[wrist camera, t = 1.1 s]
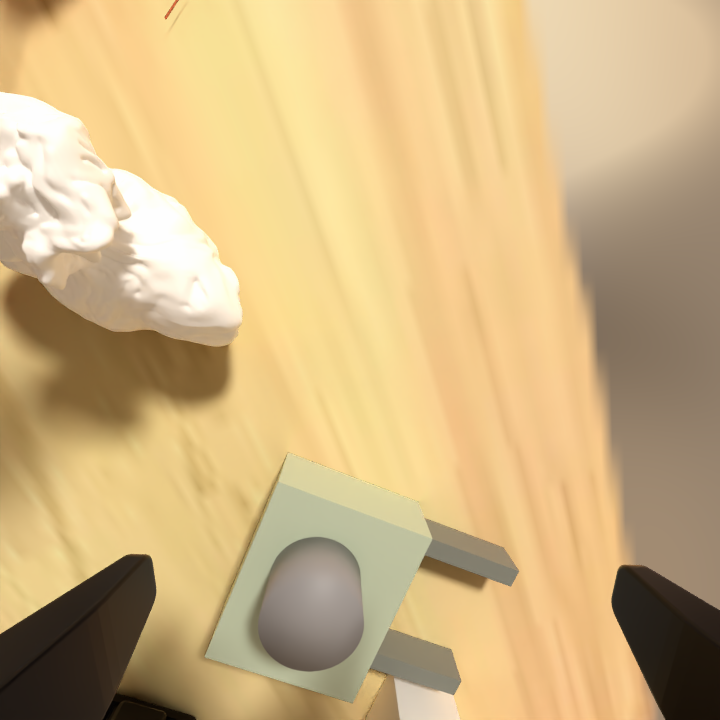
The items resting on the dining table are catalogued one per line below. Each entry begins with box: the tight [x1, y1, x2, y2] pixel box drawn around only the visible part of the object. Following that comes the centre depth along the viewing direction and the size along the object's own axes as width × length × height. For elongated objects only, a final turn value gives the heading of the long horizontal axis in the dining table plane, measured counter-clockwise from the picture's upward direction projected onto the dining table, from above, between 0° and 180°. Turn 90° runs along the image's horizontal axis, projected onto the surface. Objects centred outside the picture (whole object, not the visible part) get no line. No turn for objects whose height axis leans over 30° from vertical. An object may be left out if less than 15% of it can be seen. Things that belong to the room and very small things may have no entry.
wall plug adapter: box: [205, 453, 519, 703], centre depth 20 cm, size 10×14×6 cm
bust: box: [0, 92, 243, 347], centre depth 15 cm, size 12×8×11 cm
